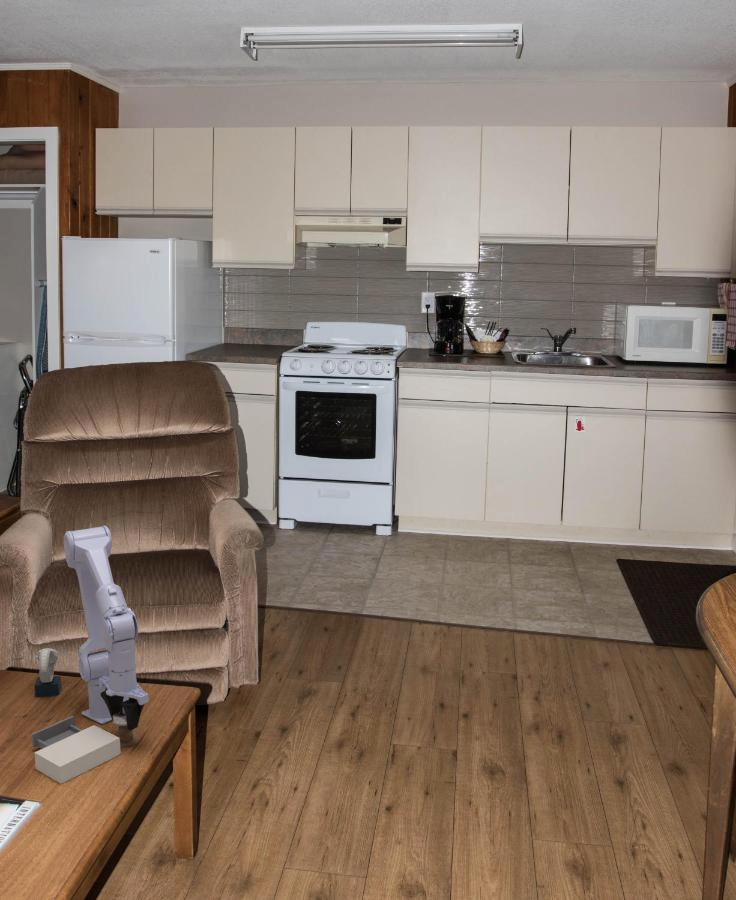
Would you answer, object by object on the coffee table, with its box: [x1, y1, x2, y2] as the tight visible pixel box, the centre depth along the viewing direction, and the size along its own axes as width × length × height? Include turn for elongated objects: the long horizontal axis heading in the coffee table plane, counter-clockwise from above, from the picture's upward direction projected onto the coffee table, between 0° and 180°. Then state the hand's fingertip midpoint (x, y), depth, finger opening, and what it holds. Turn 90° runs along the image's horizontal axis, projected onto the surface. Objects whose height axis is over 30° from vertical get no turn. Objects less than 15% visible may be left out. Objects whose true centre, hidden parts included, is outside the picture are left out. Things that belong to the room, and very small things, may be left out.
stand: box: [116, 726, 140, 749], centre depth 210 cm, size 6×6×4 cm
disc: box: [112, 710, 127, 727], centre depth 209 cm, size 5×5×2 cm
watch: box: [34, 647, 62, 698], centre depth 232 cm, size 6×8×11 cm
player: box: [34, 725, 121, 785], centre depth 201 cm, size 9×15×4 cm, turn 142°
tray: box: [30, 715, 83, 750], centre depth 207 cm, size 9×10×3 cm
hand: (125, 724), depth 209 cm, fingers closed on disc, 5 cm apart
